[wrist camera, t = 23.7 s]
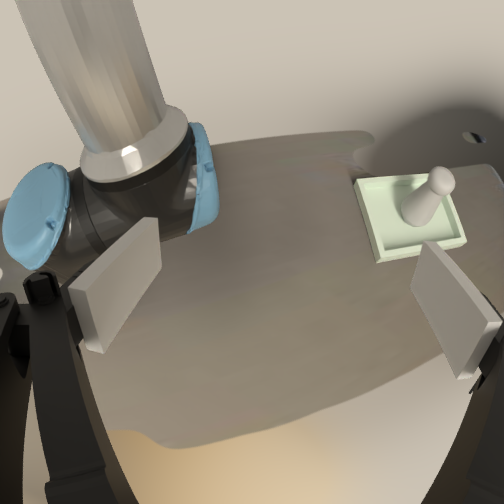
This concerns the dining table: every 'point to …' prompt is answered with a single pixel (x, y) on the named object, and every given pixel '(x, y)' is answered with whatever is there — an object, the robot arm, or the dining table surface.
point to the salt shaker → (427, 197)
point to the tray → (392, 223)
